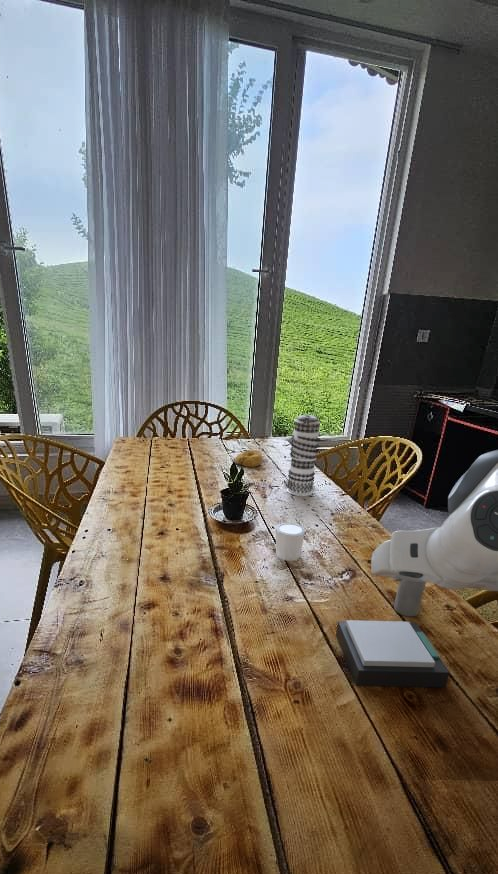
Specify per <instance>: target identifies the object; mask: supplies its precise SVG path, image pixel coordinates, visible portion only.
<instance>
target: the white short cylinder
mask: <svg viewBox="0 0 498 874" xmlns="http://www.w3.org/2000/svg"><path fill="white" fill-rule="evenodd" d="M305 535H306V529H305V528H304V527H303V526H302V525H301V524H297V523H293V522H292V523H291V522H282V523H280V524H277V525H276V526H275V555H276V557H277V558H278V559H280V560H283V561H285V562H287V561H288V562H294V561H298V560H299V559H300V556H301V551H302V549H303V544H304V538H305Z"/></svg>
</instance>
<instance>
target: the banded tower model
mask: <svg viewBox="0 0 498 874" xmlns="http://www.w3.org/2000/svg"><path fill="white" fill-rule="evenodd" d="M320 424H321V421H320V420H319V419H318V417H317V416H316V415H313V414H300V415H298V416H297V418H295V419H294V429H293V433H292V434H293V435H292V436H291V438H290V440H291V441H290V446H291V447H290V449H289V450H290V453H289V455H290V458H291V460H290V464H289V469H288V474H287V478H288V479H287V480H286V482H287V484H286V491H287V493H289V494H291V495H294V496H298V497H301V496H302V497H307V496H310V495H313V489H314V484H315V482H314V480H315V475H316V472H315V468H316V467H315V466H316V465H315V463H316V460H317V459H318V455H317V454H316V453H318V452H320V451H319V449H318V448H319V447H320V444H318V442H321V438H320V437H321V436H322V435H321V434H320Z"/></svg>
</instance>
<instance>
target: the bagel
mask: <svg viewBox="0 0 498 874" xmlns="http://www.w3.org/2000/svg"><path fill="white" fill-rule="evenodd" d="M262 461H263V456H262V454H261V452H259V451H257V450H254V449H249V450H248V449H247V450H245V451H243V452H241V453H238V455H236V457H235V458H234V460H233V462H234V463H235V464H237V465H239V466H243V467H248V468H249V467H250V468H254V467H258V466H259V465H261V463H262Z"/></svg>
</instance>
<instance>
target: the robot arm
mask: <svg viewBox="0 0 498 874" xmlns="http://www.w3.org/2000/svg"><path fill="white" fill-rule="evenodd" d="M447 509H448V510H447V511H448V514H449V516H448V517H447V518H446V519H445V520H444V521H443V523H442V524H441V525H440V526H439V527H438V526H436V527H431V528H426V529H414V530H396V531H393V532H392V533H391V535H390V539H388V540H384V541H383V542H382V543H380V544H379V545H378V546H377V547H376V548H375V549H374V551H373V552H372V554H371V560H370V572H371V575H373V576H375V577H384V578H391V581H394V582H399V581H401V580H403V579H405V580H413V581H420V582H426V583H429V584H434V585H437V586H439V587H440V588H443V589H446V590H453V591H455V590H456V591H458V590H464V589H474V590H481V591H482V590H483V591H490V592H498V449H496V450H492V451H488V452H485V453H483V454H481V455H479V456H478V457H477V458H476V459H475V460H474V462H473V463H472V464H471V465H470V467H469V468H468V469H467V470H466V471H465V473H463V475H461V477H460V478H459V479H458V480H457V481H456V482H455V484H454V485H453V487H452V489H451V490H450V492H449V494H448V496H447Z"/></svg>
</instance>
